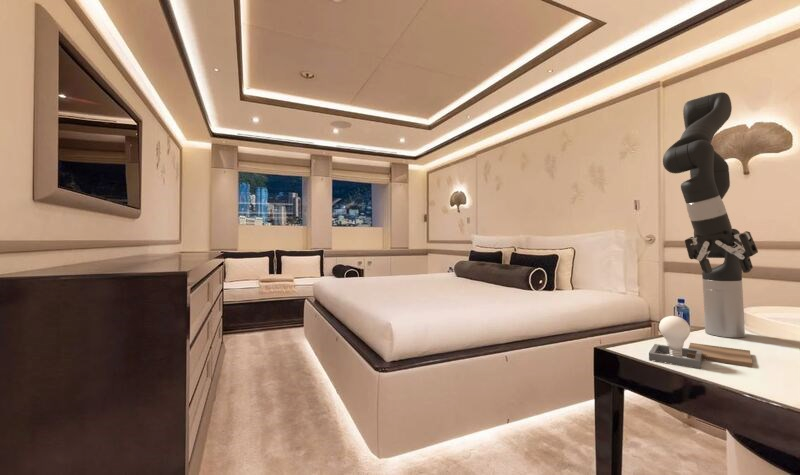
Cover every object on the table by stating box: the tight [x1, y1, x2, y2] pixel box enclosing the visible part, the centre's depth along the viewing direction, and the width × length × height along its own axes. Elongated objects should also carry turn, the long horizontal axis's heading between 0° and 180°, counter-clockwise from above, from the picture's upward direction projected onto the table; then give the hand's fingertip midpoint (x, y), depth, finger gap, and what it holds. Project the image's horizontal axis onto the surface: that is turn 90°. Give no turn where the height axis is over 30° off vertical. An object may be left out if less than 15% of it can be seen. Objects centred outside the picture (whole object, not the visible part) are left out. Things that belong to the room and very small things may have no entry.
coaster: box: [686, 342, 753, 368], centre depth 91 cm, size 12×12×1 cm
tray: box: [648, 343, 703, 369], centre depth 90 cm, size 10×10×2 cm
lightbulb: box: [658, 315, 691, 357], centre depth 90 cm, size 6×6×11 cm
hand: (727, 272), depth 93 cm, fingers open, 8 cm apart
